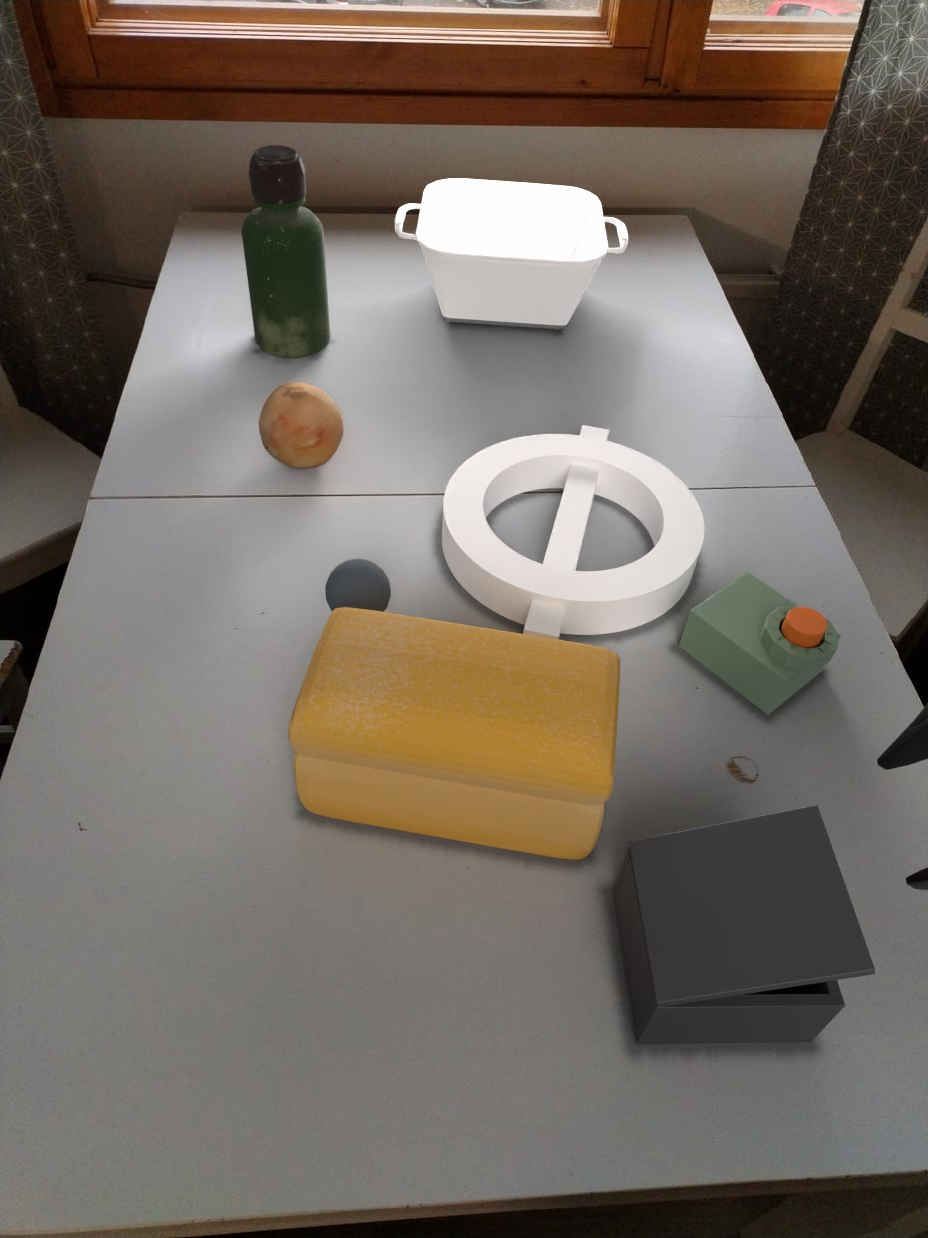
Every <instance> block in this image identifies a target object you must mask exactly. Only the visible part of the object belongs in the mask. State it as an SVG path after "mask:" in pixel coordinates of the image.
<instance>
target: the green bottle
mask: <svg viewBox="0 0 928 1238" xmlns="http://www.w3.org/2000/svg"><path fill="white" fill-rule="evenodd" d="M306 172H307V171H306V168H305V165H304V162H303V158H302V157H301V155H300V154H298V153H297V150H295V149H294V148H292V147H290V146H286V145H282V144H281V145H280V144H279V145H278V144H274V145H273V144H271V145H263V146H260V147H258V148H256V149H255V150H254V152H253V153H252V155H251V157H250V161H249V169H248V177H249V178H248V179H249V184H250V190H251V191H250V192H251V195H252V196H253V199H254V204H255V205H256V206H258V207H257V208H254V209H253V210H251V211H250V212H249V214H248V215H247V216H245V219H244V221H243V223H242V225H241V226H242V227H241V231H240V232H241V238H242V247H243V254H244V262H245V263H244V264H245V269H246V277H247V279H246V280H247V286H248V293H249V301H250V302H249V303H250V309H251V310H250V311H251V317H252V326H253V333H254V339H255V344H256V345H257V346H258V347H259V348H260V349H261V351H264V352H265V353H267V354H270V355H272V356H275V357H280V358H292V359H294V358H295V359H297V358H303V357H307V356H312V355H314V354H317V353H319V352H320V351H321V350H323V349H324V348H326V347H327V346H328V345H329V343H330V339H331V329H330V328H331V327H330V312H329V311H330V310H329V297H328V280H327V279H328V277H327V263H326V247H325V245H326V244H325V234H324V233H325V231H324V226H323V224H322V222H321V219H319V218H318V217H317V215H316V214H314V212H312V211H311V209H309V208H307V207H305V206H303V205H304V204H305V203H306V194H307V178H306Z"/></svg>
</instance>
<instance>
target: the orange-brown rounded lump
mask: <svg viewBox="0 0 928 1238" xmlns="http://www.w3.org/2000/svg"><path fill="white" fill-rule="evenodd" d="M344 429H345V428H344V419H343V416H342V412H341V409H340V407H339V406H338V404H337V403H336V401H335V400H334V399H333V398H332V397H331V396H330V395H329V394H328V393H326V392H325V391H324V390H322V389H320V388H319V387H317V386H315V385H313V384H310V383H307V382H303V381H302V382H301V381H300V382H296V381H289V382H284V383H282V384H280V385H278V386H276V387H275V389H274V390H272V391H271V393H270V394H269V395H268V397H267V398H266V400H265V402H264V404H263V406H262V408H261V411H260V414H259V418H258V431H259V435H260V439H261V444H262V446H263V448H264V450H265V451H266V452H267V453H268V455H270V456H271V457H272V458H274V459H275V460H276V461H278V462H279V463H280V464H282V465H284V466H287V467H288V468H290V469H291V468H292V469H297V470H298V469H299V470H305V469H306V470H307V469H308V470H309V469H314V468H315V469H316V468H318V467H321V466H324V464H326V463H327V462H329V461H330V459H331V458H332V457H333V456H334V454H335V453H336V451H337V450H338V449H339V447H340V444H341V442H342V440H343V438H344V437H343V436H344Z"/></svg>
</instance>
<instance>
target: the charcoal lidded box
mask: <svg viewBox="0 0 928 1238" xmlns="http://www.w3.org/2000/svg"><path fill="white" fill-rule="evenodd" d="M612 897H613V903H614V909H615V910H614V911H615V915H616V921H617V922H616V923H617V930H618V937H619V941H620V948H621V954H622V961H623V967H624V975H625V981H626V987H627V992H628V993H627V994H628V1000H629V1005H630V1006H629V1007H630V1012H631V1013H630V1014H631V1019H632V1026H633V1033H634V1038H635V1039H634V1040H635V1045H679V1044H680V1045H684V1044H685V1045H686V1044H688V1045H689V1044H744V1043H745V1044H749V1043H750V1044H751V1043H752V1044H753V1043H758V1044H759V1043H760V1044H761V1043H763V1044H764V1043H811V1042H813V1040H814V1039H816V1037H817V1036H818V1035H819V1034H820V1033H821V1032H822V1031H823V1030H824V1029H825V1028H826V1027H827V1026H828V1025H829V1024H830V1022H832V1020H833V1019H834V1018H836V1017H837V1016H838V1014H839V1013H840V1012H841V1011H842V1010H843V1009H844V1008H845V1007H846V1003H845V1000H844V997H843V994H842V991H841V988H840V984H839V982H838V981H839V980H834V981H827V982H820V983H814V984H807V985H801V986H794V987H788V988H781V989H774V990H768V991H761V992H755V993H748V994H742V995H735V996H729V997H722V998H715V999H709V1000H702V1001H696V1002H689V1003H683V1004H676V1005H669V1006H663V1007H659V1006H658V1004H657V1002H656V997H655V991H654V985H653V979H652V974H651V968H650V962H649V957H648V951H647V945H646V939H645V934H644V928H643V922H642V917H641V911H640V905H639V900H638V894H637V888H636V882H635V877H634V871H633V865H632V860H631V854H630V848H629V846H628V847H627V849H626V852H625V855H624V857H623V860H622V863H621V866H620V869H619V872H618V874H617V876H616V879H615V882H614V885H613V887H612Z"/></svg>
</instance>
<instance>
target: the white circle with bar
mask: <svg viewBox="0 0 928 1238" xmlns="http://www.w3.org/2000/svg"><path fill="white" fill-rule="evenodd" d="M609 434H610V429H606V428H601V427H595V426H592V425H591V426H590V425H586V424H585V425H584V424H582V426H581V429H580V432H579V435H578V434H572V433H571V434H568V433H539V434H531V435H530V434H529V435H523V436H518V437H513V438H509V439H506V440H503V441H500V442H497V443H493V444H492V445H489V446H487V447H484V448H483V449H481V450H479V451H478V452H476V453H474V454H473V455H471V456H470V457H469V458H467V459H466V460H465V461H464V462H462V463H461V464H460V466H459V467H458V468H457V469H456V470H455V471H454V472H453V474H452V476H451V477H450V478H449V481H448V483H447V485H446V486H445V487H446V488H445V491H444V494H443V501H442V523H441V525H442V526H441V548H442V553H443V556H444V560H445V562H446V564H447V566H448V568H449V570H450V572H451V574H452V575H453V577H454V578H455V579H456V581H457V583H459V584H460V586H461V587H462V588H463V589H464V590H465V591H466V592H467V594H469V595H470V596H471V597H473V599H475V600H476V601H477V602H479V603H480V604H482V605H483V606H485V607H486V608H487V609H489V610H491V611H492V612H494V613H496V614H498V615H499V616H501V617H504V618H506V619H508V620H511V621H513V622H515V623H518V624H520V625H522V626H523V625H524V626H523V627H524V628H523V633H522V634H526V635H532V636H539V637H545V638H551V639H557V640H560V635H561V634H564V635H576V636H590V635H591V636H594V635H606V634H613V633H614V634H615V633H619V632H624V631H628V630H631V629H635V628H638V627H641V626H643V625H646V624H648V623H650V622H652V621H655V620H656V619H658V618H659V617H661V616H662V615H664V614H665V613H667V612H668V611H669V610H671V609H672V608H673V607H674V606H675V605H676V604H677V603H678V602H679V601H680V600H681V598H682V597H683V596H684V594H685V593H686V591H687V589H688V588H689V585H690V584H691V581H692V578H693V574H694V572H695V569H696V565H697V562H698V559H699V556H700V554H701V550H702V547H703V544H704V540H705V539H704V538H705V521H704V516H703V512H702V510H701V507H700V505H699V503H698V501H697V499H696V498H695V496H694V494H693V493H692V492H691V490H690V489H689V487H688V486H687V485H686V483H684V482H683V481H682V480H681V479H680V478H679V477H678V476H677V475H676V474H675V473H673V472H672V471H671V470H670V469H669V468H667V467H666V466H664V465H663V464H662V463H660V462H658V461H657V460H655V459H654V458H652V457H650V456H648V455H646V454H645V453H642V452H640V451H637V450H635V449H633V448H631V447H629V446H625V445H623V444H619V443H616V442H613V441H610V440H608V439H609V436H610V435H609ZM544 489H545V490H547V489H563V492H562V495H561V499H560V502H559V504H558V505H559V506H558V509H557V512H556V516H555V519H554V522H553V527H552V530H551V534H550V537H549V540H548V544H547V546H546V547H547V548H546V551H545V555H544V558H543V562H542V563H541V562H538V561H535V560H532V559H531V558H528V557H526V556H524V555H522V554H521V553H518V552H517V551H515V550H514V549H512V548H511V547H509V546H508V545H506V543H504V542H503V541H502V540H501V539H500V538H499V537H498V536H497V534H496V533H495V532H494V531H493V530H492V528H491V527H490V525H489V523H488V520H487V518H488V516H489V515H490V513H491V512H493V510H494V509H495V508H496V507H498V506H499V505H500V504H501V503H503V502H505V501H507V500H508V499H511V498H513V497H515V496H517V495H521V494H523V493H527V492H531V491H537V490H544ZM595 496H598V497H601V498H604V499H607V500H609V501H611V502H613V503H615V504H617V505H619V506H621V507H622V508H623V509H625V510H627V512H629V513H630V514H632V515H633V516H634V517H636V518H637V519H638V521H639V522H640V523H641V524H642V525H643V526H644V528H645V529H646V531H647V532H648V534H649V536H650V538H651V540H652V543H653V548H652V549H651V550H650V551H649V552H647V553H646V554H645V555H643V556H642V557H640V558H638V559H637V560H635V561H633V562H631V563H628V564H625V565H622V566H618V567H614V568H609V569H603V570H590V571H589V570H577V566H578V562H579V558H580V554H581V550H582V546H583V542H584V538H585V533H586V529H587V526H588V521H589V517H590V513H591V511H592V510H591V509H592V506H593V501H594V497H595Z"/></svg>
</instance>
